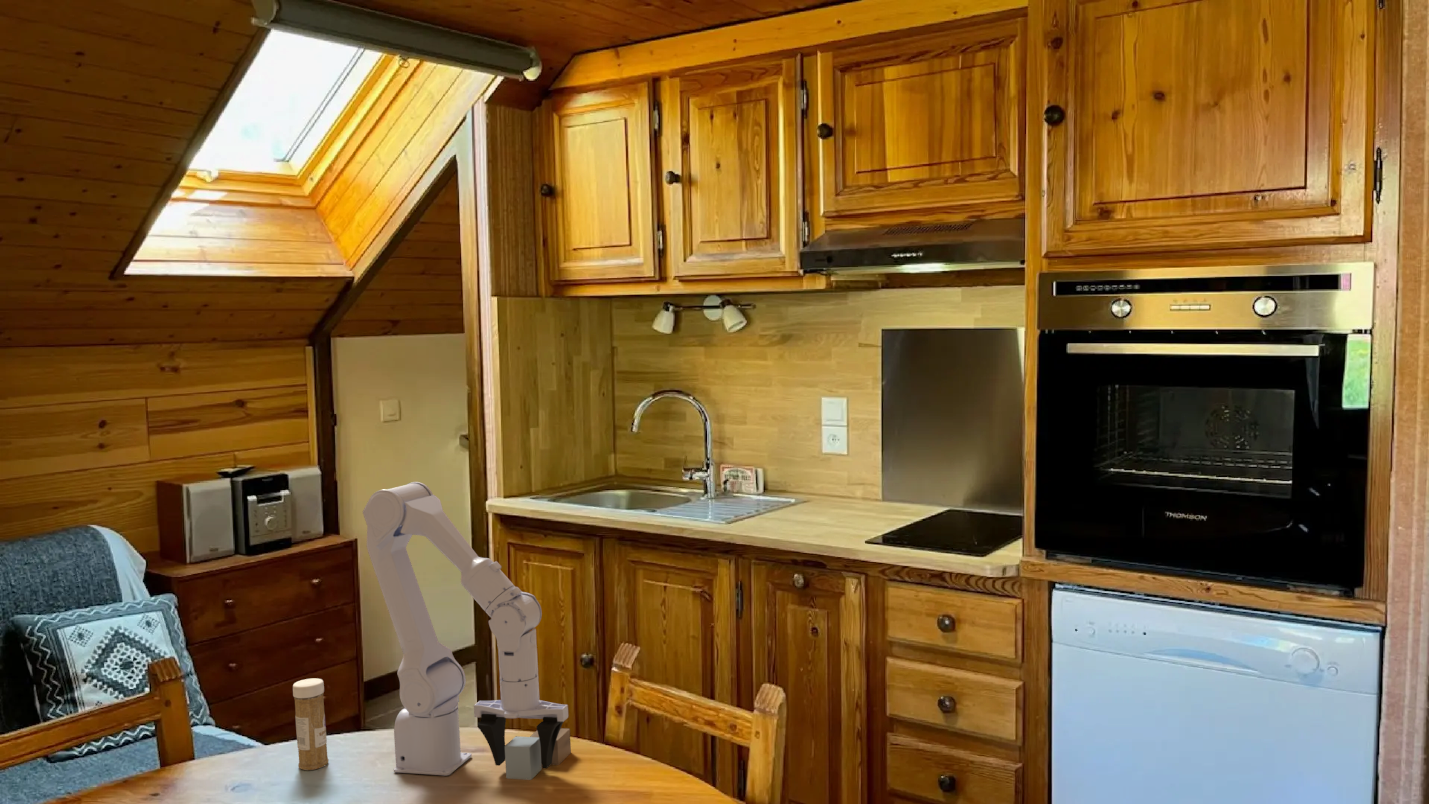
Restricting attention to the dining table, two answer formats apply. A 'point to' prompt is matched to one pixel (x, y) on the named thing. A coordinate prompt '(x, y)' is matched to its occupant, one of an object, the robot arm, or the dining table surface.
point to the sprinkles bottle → (310, 723)
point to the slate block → (523, 758)
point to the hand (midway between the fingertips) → (523, 764)
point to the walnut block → (560, 746)
